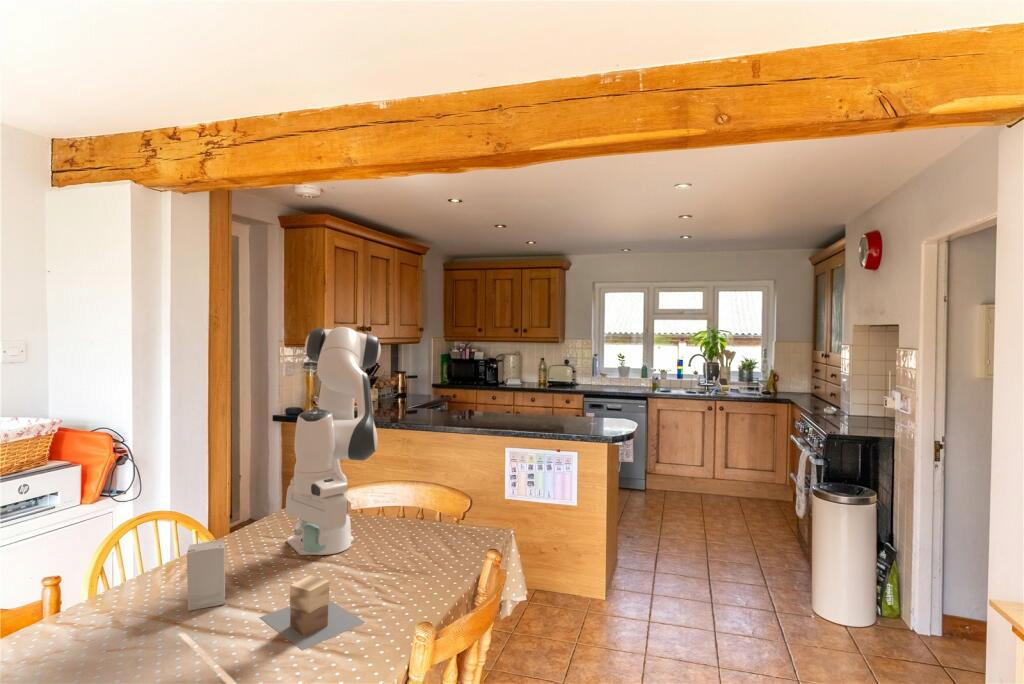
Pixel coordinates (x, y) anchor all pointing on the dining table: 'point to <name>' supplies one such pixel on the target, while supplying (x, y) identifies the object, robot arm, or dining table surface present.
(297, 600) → the top block
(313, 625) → the bottom block
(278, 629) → the board
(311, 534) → the mint green cylinder
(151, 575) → the dining table surface
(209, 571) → the skincare box
